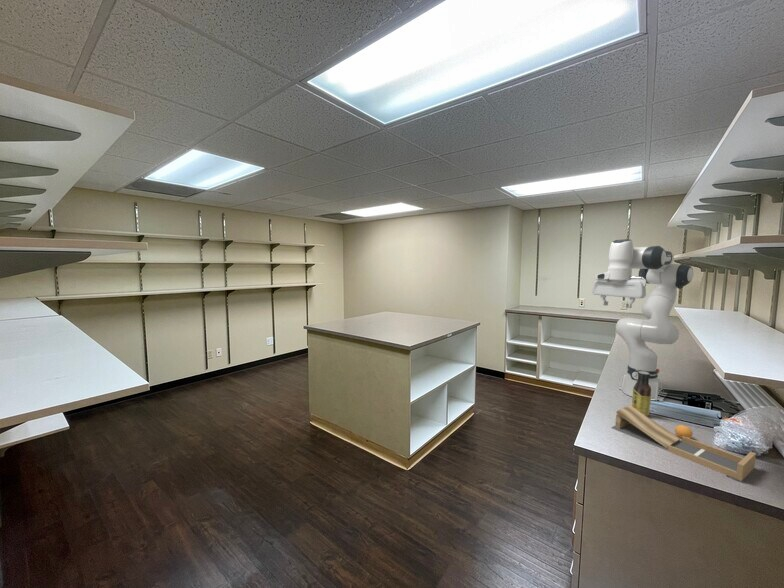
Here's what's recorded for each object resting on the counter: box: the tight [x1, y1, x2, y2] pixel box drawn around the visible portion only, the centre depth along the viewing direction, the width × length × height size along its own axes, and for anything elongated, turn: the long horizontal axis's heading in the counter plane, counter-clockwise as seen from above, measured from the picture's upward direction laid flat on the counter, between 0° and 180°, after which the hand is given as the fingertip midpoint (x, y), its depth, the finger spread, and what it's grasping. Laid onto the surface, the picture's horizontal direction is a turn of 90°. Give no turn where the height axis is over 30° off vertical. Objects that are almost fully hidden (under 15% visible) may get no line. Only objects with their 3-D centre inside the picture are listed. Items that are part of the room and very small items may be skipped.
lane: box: [610, 424, 757, 484], centre depth 116 cm, size 13×37×5 cm, turn 30°
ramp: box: [614, 404, 681, 448], centre depth 124 cm, size 10×18×7 cm, turn 30°
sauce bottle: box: [631, 371, 652, 418], centre depth 140 cm, size 6×6×20 cm
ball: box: [674, 424, 693, 439], centre depth 122 cm, size 5×5×5 cm
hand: (616, 306), depth 144 cm, fingers open, 8 cm apart
